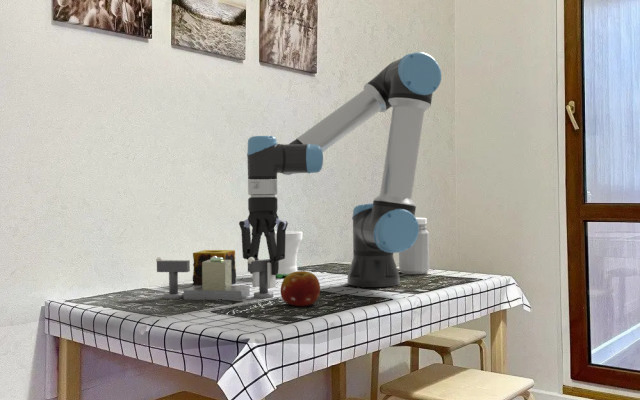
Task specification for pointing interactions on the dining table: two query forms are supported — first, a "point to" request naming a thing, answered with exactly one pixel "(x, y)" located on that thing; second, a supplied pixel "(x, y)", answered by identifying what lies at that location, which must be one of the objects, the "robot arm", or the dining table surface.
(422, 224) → the jar
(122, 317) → the dining table surface
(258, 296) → the knob
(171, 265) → the knob
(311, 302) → the fruit
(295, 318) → the dining table surface
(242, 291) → the level base
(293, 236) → the cup
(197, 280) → the candle
